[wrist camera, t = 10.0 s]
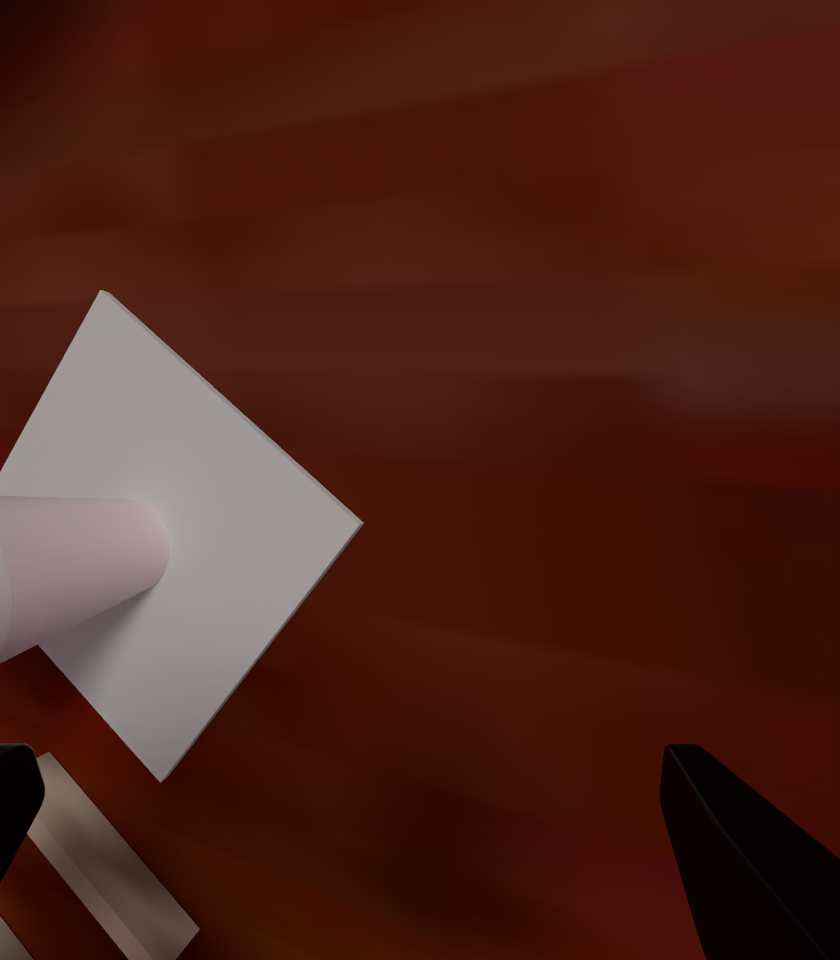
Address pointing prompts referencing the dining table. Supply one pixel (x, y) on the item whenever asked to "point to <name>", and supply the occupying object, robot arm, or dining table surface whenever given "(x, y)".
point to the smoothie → (72, 562)
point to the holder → (102, 875)
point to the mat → (174, 530)
